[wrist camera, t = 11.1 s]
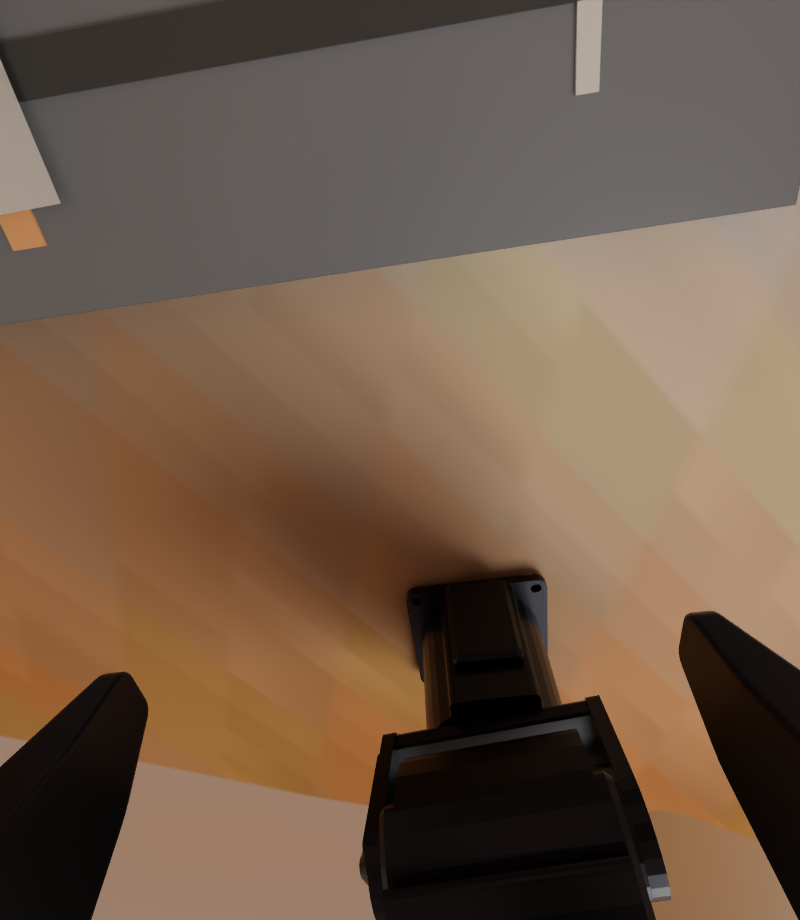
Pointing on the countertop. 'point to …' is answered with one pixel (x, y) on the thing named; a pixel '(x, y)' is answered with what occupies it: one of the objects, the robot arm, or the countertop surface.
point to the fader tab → (20, 159)
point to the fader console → (377, 133)
